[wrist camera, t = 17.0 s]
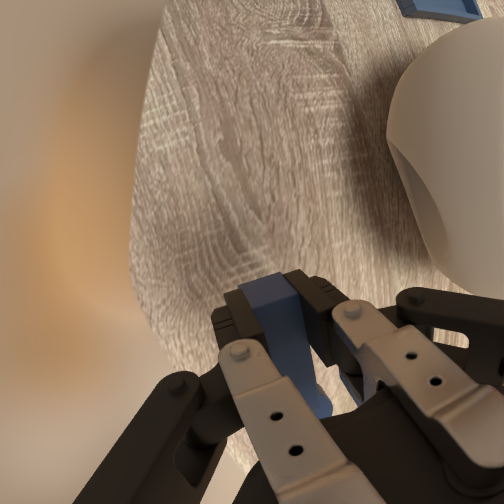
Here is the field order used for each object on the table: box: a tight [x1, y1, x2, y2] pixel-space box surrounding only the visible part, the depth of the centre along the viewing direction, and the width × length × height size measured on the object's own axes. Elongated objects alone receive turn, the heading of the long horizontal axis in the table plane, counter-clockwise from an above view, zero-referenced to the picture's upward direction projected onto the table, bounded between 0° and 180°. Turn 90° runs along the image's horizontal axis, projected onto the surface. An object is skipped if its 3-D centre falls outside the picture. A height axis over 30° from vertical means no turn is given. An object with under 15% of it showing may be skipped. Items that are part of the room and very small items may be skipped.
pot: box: [386, 17, 504, 300], centre depth 21 cm, size 24×24×18 cm
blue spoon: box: [238, 272, 333, 419], centre depth 13 cm, size 9×4×2 cm, turn 14°
